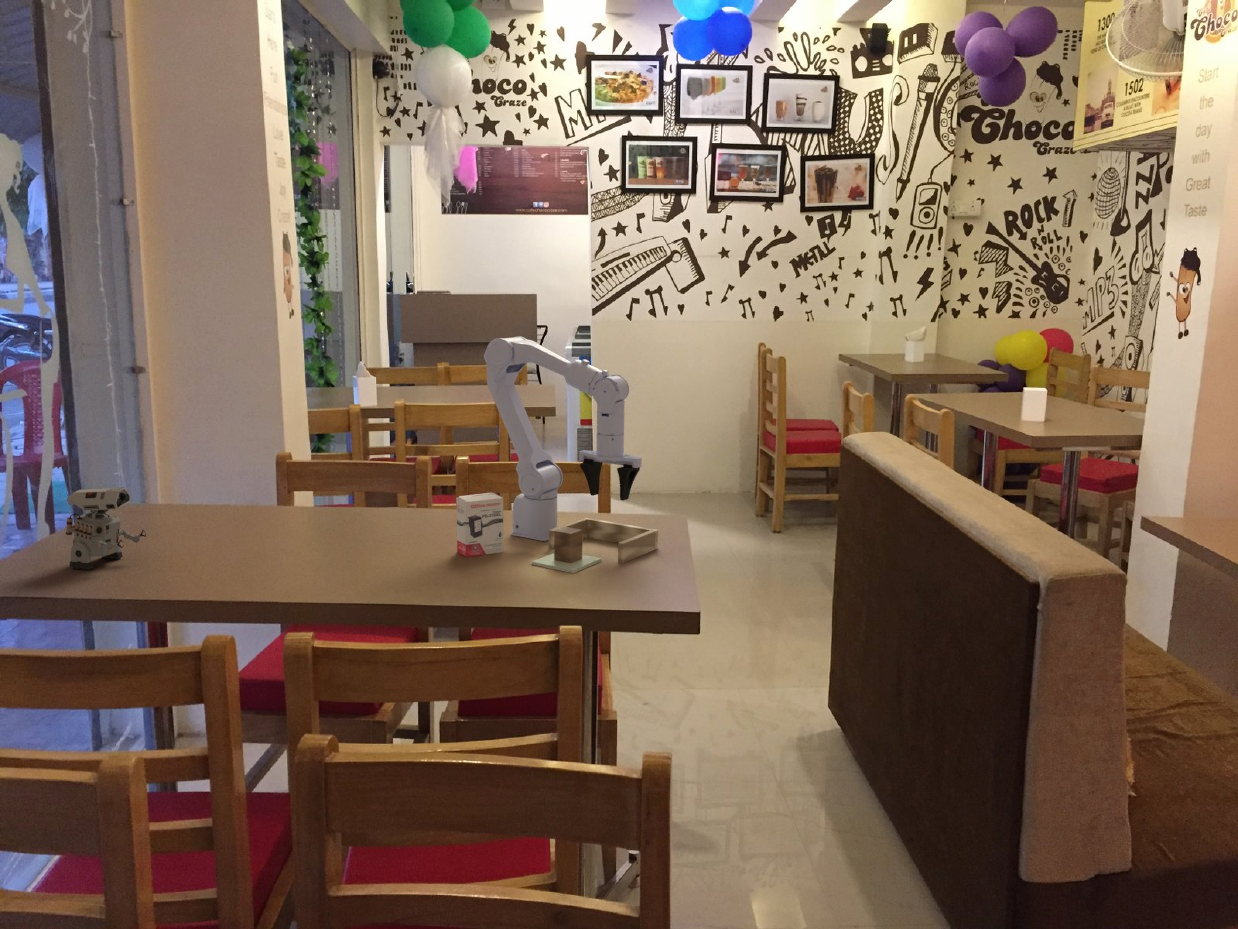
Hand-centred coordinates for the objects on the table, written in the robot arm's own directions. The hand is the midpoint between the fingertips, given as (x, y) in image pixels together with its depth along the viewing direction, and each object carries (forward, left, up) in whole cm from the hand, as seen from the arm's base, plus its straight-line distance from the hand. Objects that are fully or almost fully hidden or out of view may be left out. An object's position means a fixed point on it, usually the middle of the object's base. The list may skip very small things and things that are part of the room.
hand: (609, 497), depth 212 cm
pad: (+1, -16, -10) cm, 19 cm away
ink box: (-18, -20, -11) cm, 29 cm away
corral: (+1, -3, -10) cm, 11 cm away
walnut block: (+1, -16, -10) cm, 19 cm away
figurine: (-70, -69, -11) cm, 99 cm away
